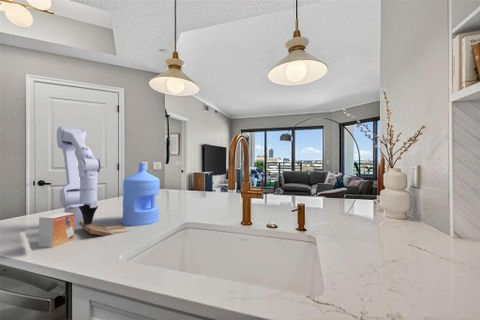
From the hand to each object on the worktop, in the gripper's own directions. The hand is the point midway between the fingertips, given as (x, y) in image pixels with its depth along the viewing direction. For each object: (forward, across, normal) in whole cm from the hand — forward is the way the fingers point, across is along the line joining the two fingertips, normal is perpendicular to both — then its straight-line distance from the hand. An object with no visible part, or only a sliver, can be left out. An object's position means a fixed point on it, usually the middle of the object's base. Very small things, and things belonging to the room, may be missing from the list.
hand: (87, 223), depth 90 cm
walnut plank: (+2, +2, +2) cm, 4 cm away
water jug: (+4, -2, +22) cm, 22 cm away
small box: (+4, +7, -10) cm, 14 cm away
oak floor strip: (+4, +2, +10) cm, 11 cm away
